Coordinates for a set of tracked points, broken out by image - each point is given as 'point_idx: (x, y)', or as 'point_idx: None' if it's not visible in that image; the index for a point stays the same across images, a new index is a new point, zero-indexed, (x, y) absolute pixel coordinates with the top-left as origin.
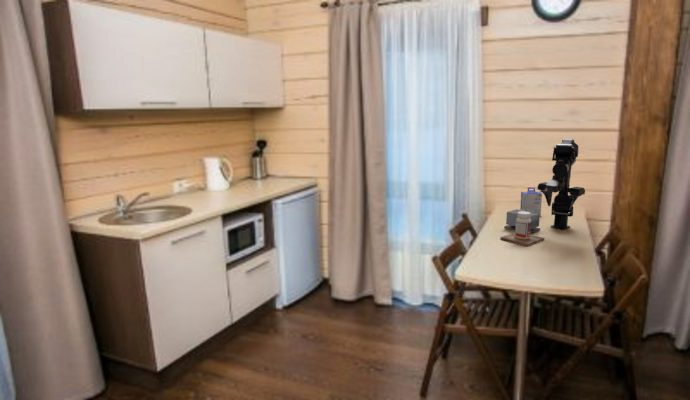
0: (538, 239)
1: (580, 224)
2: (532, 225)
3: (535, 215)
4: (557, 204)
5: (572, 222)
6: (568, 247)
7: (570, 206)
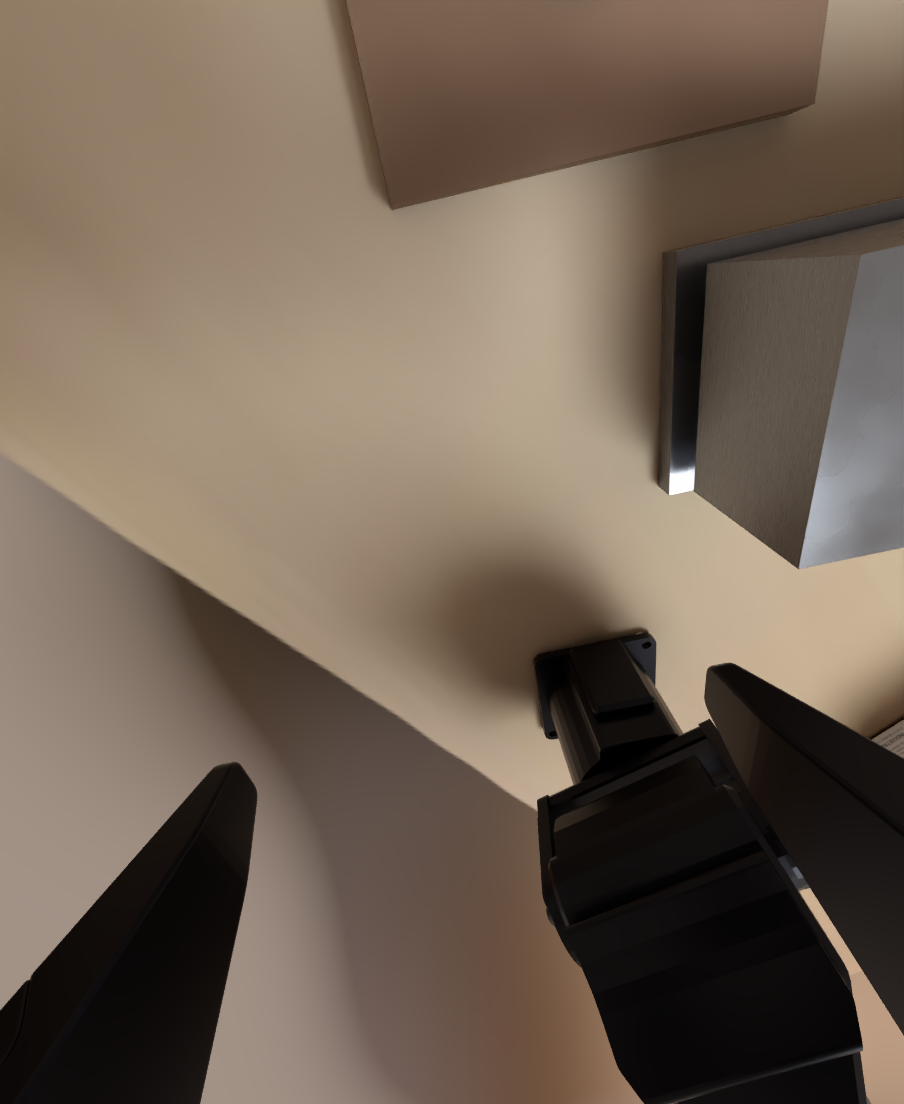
0: (374, 39)
1: None
2: (726, 354)
3: (816, 454)
4: (713, 868)
5: None
6: (32, 245)
7: (146, 861)
